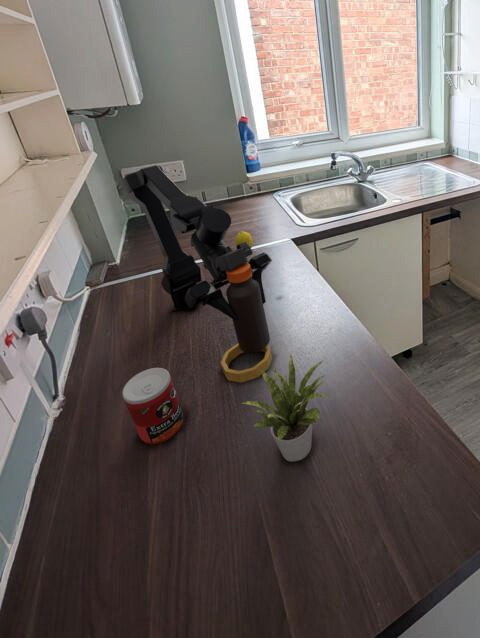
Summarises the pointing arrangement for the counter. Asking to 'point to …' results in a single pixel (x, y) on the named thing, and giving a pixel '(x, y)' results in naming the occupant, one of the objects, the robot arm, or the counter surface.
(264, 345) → the vinegar
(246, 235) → the lemon
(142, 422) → the canned food
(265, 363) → the yellow flat ring
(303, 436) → the house plant
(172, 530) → the counter surface
